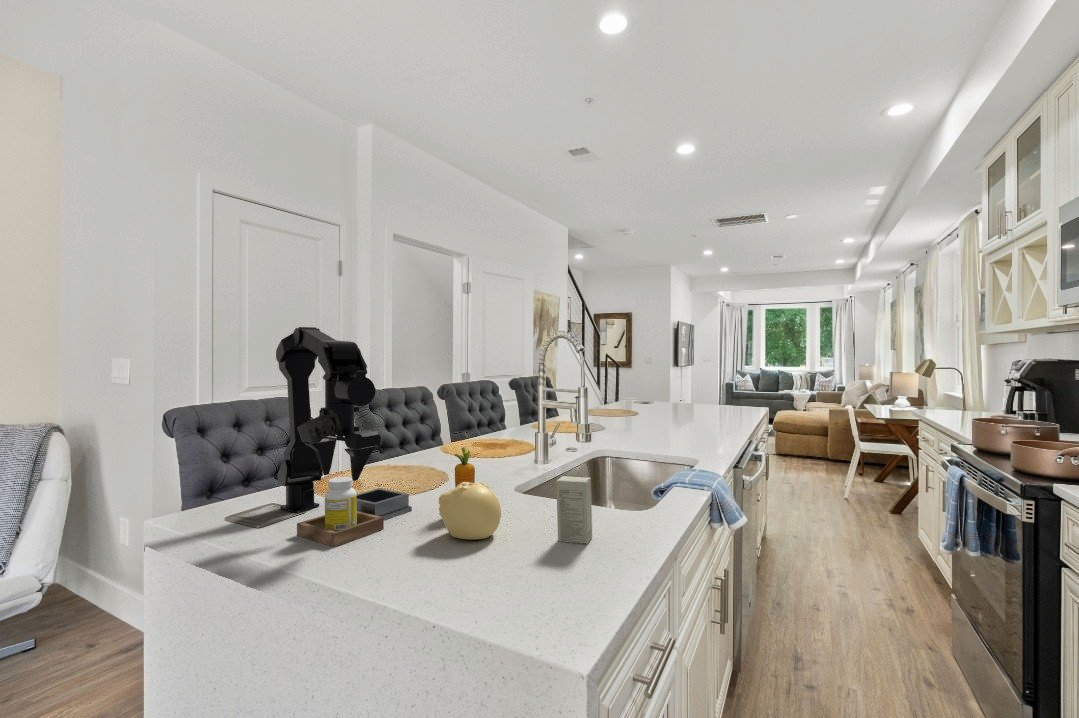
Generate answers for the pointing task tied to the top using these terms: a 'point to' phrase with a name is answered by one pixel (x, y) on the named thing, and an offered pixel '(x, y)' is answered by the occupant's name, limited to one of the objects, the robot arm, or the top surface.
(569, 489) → the skincare box
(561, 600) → the top surface
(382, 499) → the dark metal seat block
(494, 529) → the sculpture
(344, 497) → the pill bottle
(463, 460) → the carrot
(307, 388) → the robot arm
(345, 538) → the walnut collar
